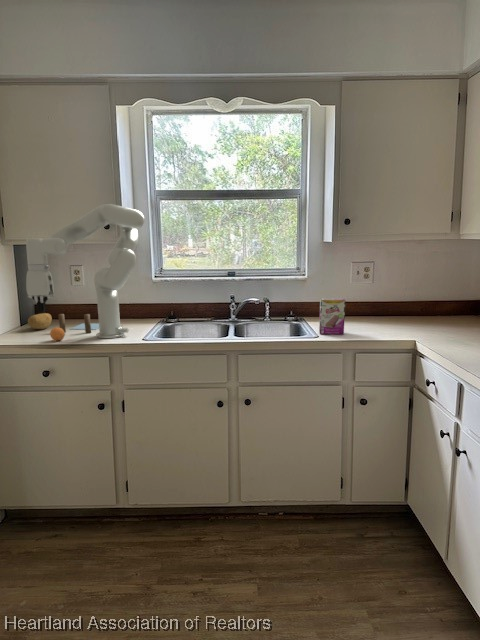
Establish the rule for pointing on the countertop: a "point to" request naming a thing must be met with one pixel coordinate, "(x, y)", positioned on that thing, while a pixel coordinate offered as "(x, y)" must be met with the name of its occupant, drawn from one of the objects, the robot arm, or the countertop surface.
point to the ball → (57, 333)
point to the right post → (87, 323)
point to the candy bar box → (332, 316)
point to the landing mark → (82, 326)
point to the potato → (40, 321)
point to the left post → (62, 322)
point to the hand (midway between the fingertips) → (41, 311)
